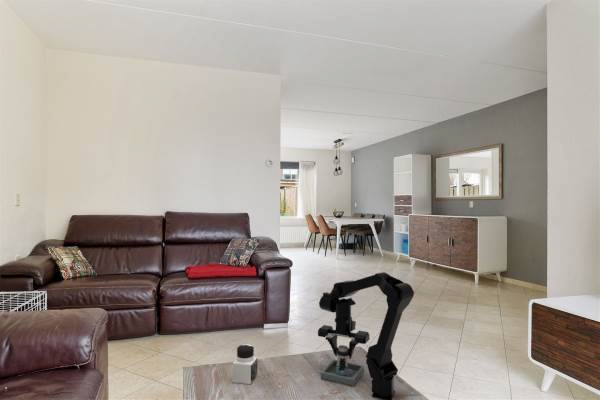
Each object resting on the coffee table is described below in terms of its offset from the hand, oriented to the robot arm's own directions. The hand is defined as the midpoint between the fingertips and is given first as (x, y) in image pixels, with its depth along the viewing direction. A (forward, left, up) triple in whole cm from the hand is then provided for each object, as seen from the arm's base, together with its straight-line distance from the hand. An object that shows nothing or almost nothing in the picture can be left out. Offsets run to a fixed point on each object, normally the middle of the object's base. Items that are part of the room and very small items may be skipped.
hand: (343, 357), depth 138 cm
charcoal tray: (0, 0, -7) cm, 7 cm away
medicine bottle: (+31, +19, -7) cm, 37 cm away
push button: (0, 0, -6) cm, 6 cm away
